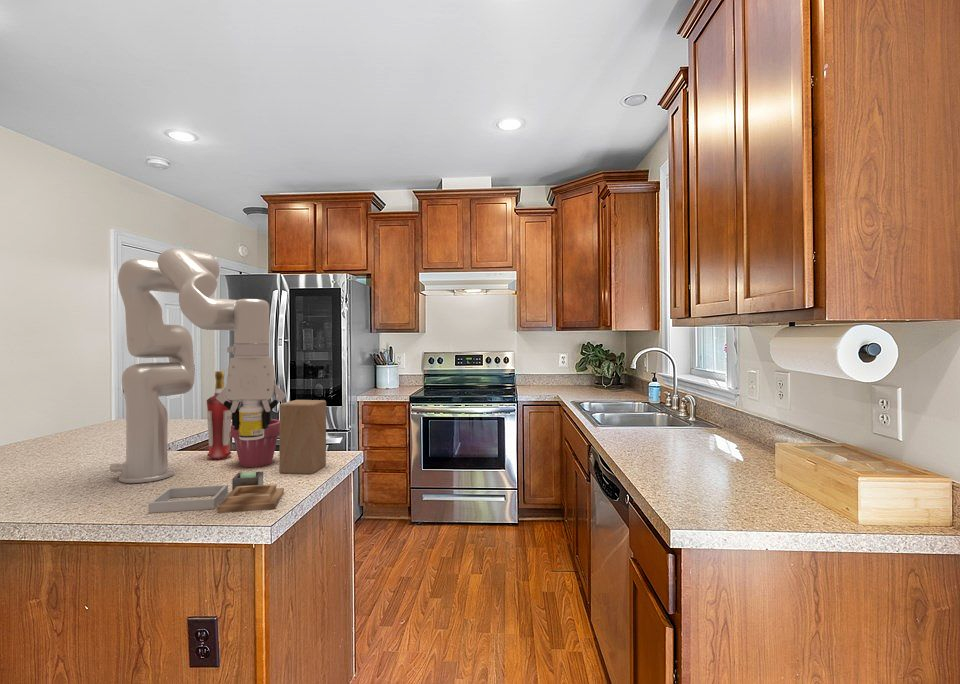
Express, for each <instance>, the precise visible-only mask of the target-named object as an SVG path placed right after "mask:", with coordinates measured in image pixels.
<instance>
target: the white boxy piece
mask: <svg viewBox="0 0 960 684" xmlns="http://www.w3.org/2000/svg"><path fill="white" fill-rule="evenodd" d="M243 472H244V471H243ZM243 472H237V473H236V475H234V477H233V478H231V479H232V480H231V491H233V490H234V489H235V488H236V487H237V486H252V485H264V471H255V472H256V477H246V478H240V474H241V473H243Z"/></svg>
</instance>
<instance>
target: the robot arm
mask: <svg viewBox="0 0 960 684" xmlns="http://www.w3.org/2000/svg"><path fill="white" fill-rule="evenodd" d="M220 269H221V268H220V264H219V262H218V261H217V259H216V258H215V257H214V256H213V255H211V254H209V253H207V252H202V251H195V250H189V249H185V248H184V249H183V248H168V249H165V250H163V251H161V253H160V254H159V255H158V257H157V259H149V258H132V259H128V260H126V261H124V262H123V263H122V264H121V266H120V267H119V270H118V274H117V275H118V276H117V284H118V286H117V287H118V290H119V293H120V294H119V295H120V296H121V299H122V302H123V307H124V312H125V334H126V346H127V350H128V353H129V354H130V355H131V356H132V357H134V358H138V359H139V358H140V359H141V358H142V359H151V358H152V359H158V358H159V359H163V358H164V359H165V358H167V359H168V362H159V361H158V362H142V363H141V362H139V363H135V364H132V365H129V366H128V367H127V368H126V369H125V370H124V371H123V372H122V374H121V375H122V376H121V385H122V390H123V395H124V400H125V417H126V418H125V419H126V421H125V422H126V423H125V424H126V426H125V429H126V431H125V440H126V441H125V442H126V444H125V447H126V449H125V457H126V458H125V460H126V461H125V462H123V463H111V464H110V466H109V471H110V472H111V473H118V472H120V473H121V474H120V475H119V477H118V481H119V482H121V483H125V484H137V483H139V484H141V483H149V482H155V481H160V480H164V479H167V478H170V477H172V476H173V475H174V474H175V469H174V468H172V467H169V466H168V436H169V435H168V427H169V426H168V421H169V420H168V417H169V416H168V410H167V408H166V406H165V405H164V403H163V402H162V401H161V400H160V398H159V397H165V396H168V397H169V396H176V395H184V394H187V393H189V392H190V391H191V390H192V388H194V384H195V359H194V358H195V357H194V343H193V342H194V341H193V338H192V335H191V332H190V331H189V330H188V328H186V327H184V326H183V325H180V324H165V323H164V321H163V320H164V319H163V309H162V305H161V304H160V302H159V301H158V299H157V298H156V297H155V296H154V295H153V294H152V293H151V292H152V291H153V292H161V293H173V294H178V304H179V308H180V310H181V313H182V314H183V315H184V317H185V318H187V319H188V321H189V322H191V323H192V324H193V325H195V326H196V327H197V328H200V329H202V330H206V331H207V330H209V331H232V332H234V333H233V336H234V337H233V345H231V346H227V347H226V349H227V353H231V354H232V355H233V357H230V358H229V361H228V367H227V375H226V383H225V386H224V389H223V390H222V391H221V393H220V394H219V395H218V396H217V397H216V399H217V400H218V401H220V402H221V403H222V404H224V406H225V407H227V408H228V409H229V410H230V412H231V413H232V416H231V424H232V426H234V430H238V429H239V409H240V407H241V404H242V401H252V400H261V402H262V406H263V407H264V412H263V429H267V428H268V425H270V424H271V419H272V410H273V409H274V408H275V407H276V406H277V405H278V404H279V403H280V402H282V401H283V400H284V399H285V398H286V397H287V395H286V394H285V392H284V391H283V390H282V389H281V388H280V387H279V386H278V385H277V384H276V372H275V366H274V361H273V357H270V303H269V302H268V301H267V300H264V299H261V298H260V299H259V298H240V299H231V298H218V297H212V295H214V293H215V291H216V289H217V288H218V287H217V286H218V281H217V280H218V278H219V277H220V276H219V275H220V272H221V271H220ZM150 291H151V292H150ZM275 395H277V396H276V398H275V399H274V400H272V401H271V399H272V398H273V397H275ZM226 397H227V398H226ZM228 399H229V400H232V402H231V401H229V400H228Z"/></svg>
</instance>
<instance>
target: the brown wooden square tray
mask: <svg viewBox="0 0 960 684" xmlns="http://www.w3.org/2000/svg"><path fill="white" fill-rule="evenodd" d="M284 493H285V488H284V487H280V488H278V487H277V484H276V483H274V484H273V483H272V484H263V485H252V486H237V487H236V488H235V489H234V490H233V491H232V490H231V491H230V492H228V494H227V495H226V496H225V497H224V498H223V500H222V501H221V502H220V503H219V504H218V505H217V506H216V512H217V513H230V512H231V513H232V512H233V513H234V512H236V513H237V512H248V511H261V510H263V511H264V510H275V509H277V506H278V504H279V503H280V500H281V499H282V497H283V495H284Z"/></svg>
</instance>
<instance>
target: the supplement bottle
mask: <svg viewBox="0 0 960 684" xmlns="http://www.w3.org/2000/svg"><path fill="white" fill-rule="evenodd" d="M261 402H262V400H252V401H241V404H242V405H241V406H240V407H239V439H240V440H257V439H261V438H263V437H264V429H263V412H264V406H263V405H262V404H261Z"/></svg>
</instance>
